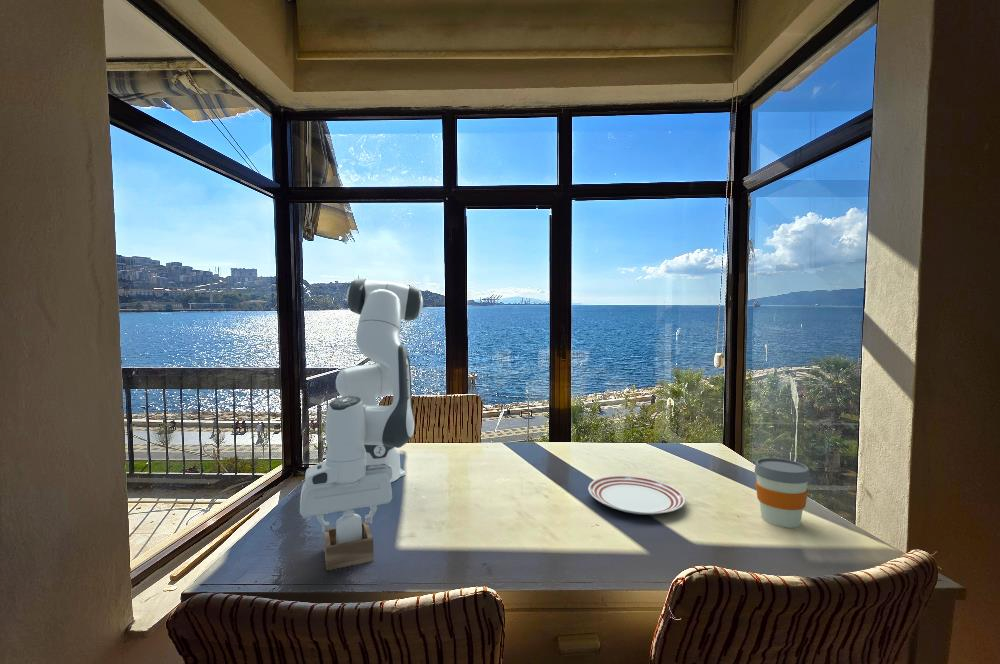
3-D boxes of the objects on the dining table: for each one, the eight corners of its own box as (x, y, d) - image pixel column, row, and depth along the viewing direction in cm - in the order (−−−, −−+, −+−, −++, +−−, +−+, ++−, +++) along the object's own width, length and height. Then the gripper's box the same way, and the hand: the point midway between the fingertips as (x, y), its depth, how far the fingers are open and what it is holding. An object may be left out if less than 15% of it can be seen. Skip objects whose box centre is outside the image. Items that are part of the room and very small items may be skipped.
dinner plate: (687, 492, 143) (687, 482, 143) (681, 530, 119) (682, 517, 118) (599, 479, 155) (599, 470, 155) (577, 511, 130) (577, 500, 130)
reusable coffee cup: (790, 535, 115) (791, 476, 115) (743, 515, 126) (744, 461, 126) (818, 524, 121) (820, 467, 121) (771, 506, 132) (772, 454, 132)
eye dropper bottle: (339, 547, 109) (338, 497, 108) (363, 545, 110) (362, 495, 109) (334, 556, 105) (333, 504, 104) (360, 555, 105) (359, 503, 105)
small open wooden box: (324, 549, 110) (323, 529, 110) (367, 541, 114) (367, 521, 114) (326, 571, 101) (326, 548, 100) (373, 560, 105) (373, 539, 104)
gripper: (389, 458, 113) (390, 513, 114) (298, 470, 105) (300, 529, 106) (394, 466, 108) (395, 524, 108) (299, 479, 99) (300, 542, 100)
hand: (347, 527), depth 107 cm, fingers open, 8 cm apart
